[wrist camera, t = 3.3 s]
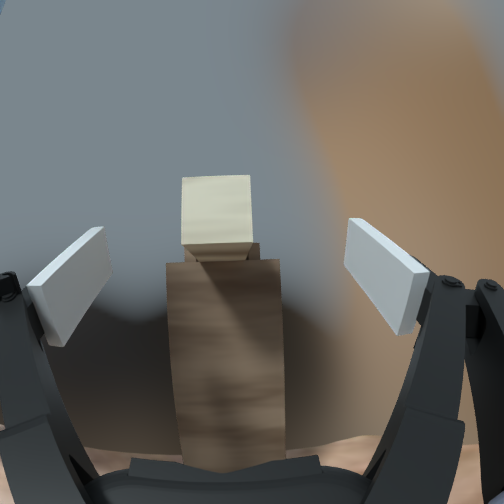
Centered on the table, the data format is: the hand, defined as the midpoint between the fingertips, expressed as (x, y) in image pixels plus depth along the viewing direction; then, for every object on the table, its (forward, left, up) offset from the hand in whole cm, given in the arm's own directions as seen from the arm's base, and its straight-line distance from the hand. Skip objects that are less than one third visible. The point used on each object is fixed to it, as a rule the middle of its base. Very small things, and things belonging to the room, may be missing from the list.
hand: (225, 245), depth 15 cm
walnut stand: (-12, +11, -30) cm, 34 cm away
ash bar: (-9, +8, 0) cm, 12 cm away
